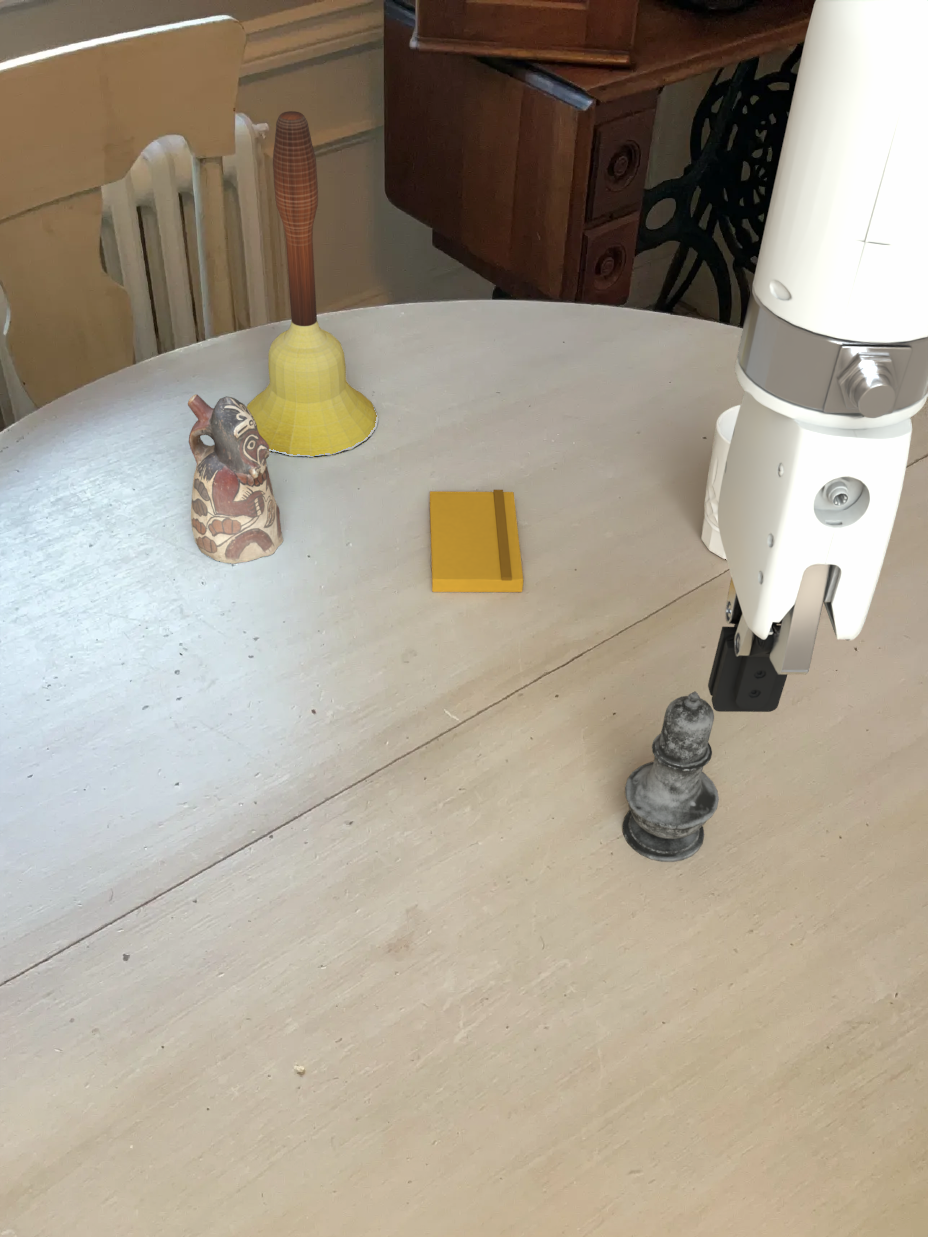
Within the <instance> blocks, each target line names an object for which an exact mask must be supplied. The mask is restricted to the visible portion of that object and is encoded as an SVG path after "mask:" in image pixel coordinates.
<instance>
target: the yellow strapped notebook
mask: <svg viewBox="0 0 928 1237" xmlns="http://www.w3.org/2000/svg"><path fill="white" fill-rule="evenodd" d="M429 530H430V531H429V532H430V534H429V536H430V560H431V561H430V562H431V563H430V564H431V565H430V566H431V590H432V591H431V592H432V593H523V590H524V589H523V588H524V573H523V564H522V563H523V562H522V554H521V547H520V536H519V529H518V519H517V512H516V502H515V491H504V489H493V491H448V490H447V491H444V490H442V491H440V490H439V491H438V490H437V491H436V490H435V491H431V490H430V491H429Z"/></svg>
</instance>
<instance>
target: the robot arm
mask: <svg viewBox="0 0 928 1237" xmlns="http://www.w3.org/2000/svg"><path fill="white" fill-rule="evenodd" d="M797 71H798V72H797V76H796V81H795V86H794V91H793V95H792V98H791V105H790V109H789V114H788V118H787V123H786V127H785V131H784V132H785V133H784V137H783V142H782V145H781V146H782V147H781V151H780V154H779V160H778V165H777V169H776V174H775V179H774V183H773V188H772V193H771V198H770V201H769V206H768V210H767V211H768V212H767V216H766V220H765V224H764V230H763V235H762V239H761V244H760V247H759V248H760V249H759V254H758V258H757V261H756V262H757V263H756V267H755V272H754V277H753V281H752V285H751V290H750V293H749V299H748V302H747V308H746V312H745V316H744V321H743V327H742V331H741V336H740V340H739V345H738V351H737V355H736V360H735V365H734V374H735V376H736V379H737V381H738V384H739V385H740V386H741V387H742V390H744V391H743V395H742V398H741V402H740V404H739V405H740V409H739V413H738V416H737V420H736V424H735V427H734V431H733V435H732V439H731V443H730V447H729V451H728V455H727V460H726V464H725V469H724V473H723V479H722V484H721V489H720V496H719V503H718V525H719V531H720V536H721V540H722V544H723V548H724V552H725V555H726V559H727V560H726V562H727V566H728V570H729V572H730V576H731V577H730V582H729V587H728V593H727V597H726V601H725V602H726V603H725V610H724V616H725V622H726V624H727V625H733V626H721V630H720V635H719V639H718V643H717V647H716V650H715V655H714V659H713V663H712V667H711V671H710V674H709V680H708V683H707V688H708V692H709V695H710V696H711V704H712V709H713V711H715V712H720V713H721V712H723V713H724V712H727V713H728V712H729V713H731V712H734V713H737V712H738V713H739V712H740V713H743V712H744V713H770V712H774V711H776V709H777V708H778V707H779V705H780V704H779V703H780V701H781V698H782V694H783V691H784V688H785V684H786V681H787V677H788V675H789V676H790V675H791V676H792V675H793V676H794V675H797V676H799V675H801V676H802V675H803V676H804V675H808V674H809V671H810V668H811V662H812V659H813V653H814V649H815V645H816V638H817V634H818V630H819V625H820V620H821V615H822V610H823V605H824V608H825V610H826V613H827V616H828V619H829V621H830V625H831V627H832V630H833V632H834V635H835V638H836V640H837V641H838V640H839V641H840V640H845V641H848V642H849V641H854V640H856V638H857V637H858V636H859V635H860V633H861V632H862V630H863V628H864V625H865V623H866V620H867V617H868V614H869V611H870V607H871V604H872V601H873V597H874V595H875V591H876V589H877V586H878V582H879V578H880V575H881V571H882V568H883V564H884V561H885V557H886V554H887V550H888V547H889V543H890V540H891V537H892V536H891V535H892V532H893V529H894V524H895V521H896V517H897V513H898V508H899V504H900V500H901V495H902V491H903V488H904V487H903V486H904V481H905V476H906V472H907V467H908V460H909V453H910V447H911V442H912V441H911V440H912V433H913V423H912V418H911V417H913V416H915V415H917V414H918V413H919V412H920V411H921V410H922V409H923V408H924V406H925V404H926V402H927V400H928V0H814V4H813V8H812V12H811V15H810V19H809V23H808V27H807V31H806V34H805V38H804V43H803V48H802V53H801V57H800V62H799V67H798V70H797Z"/></svg>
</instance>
